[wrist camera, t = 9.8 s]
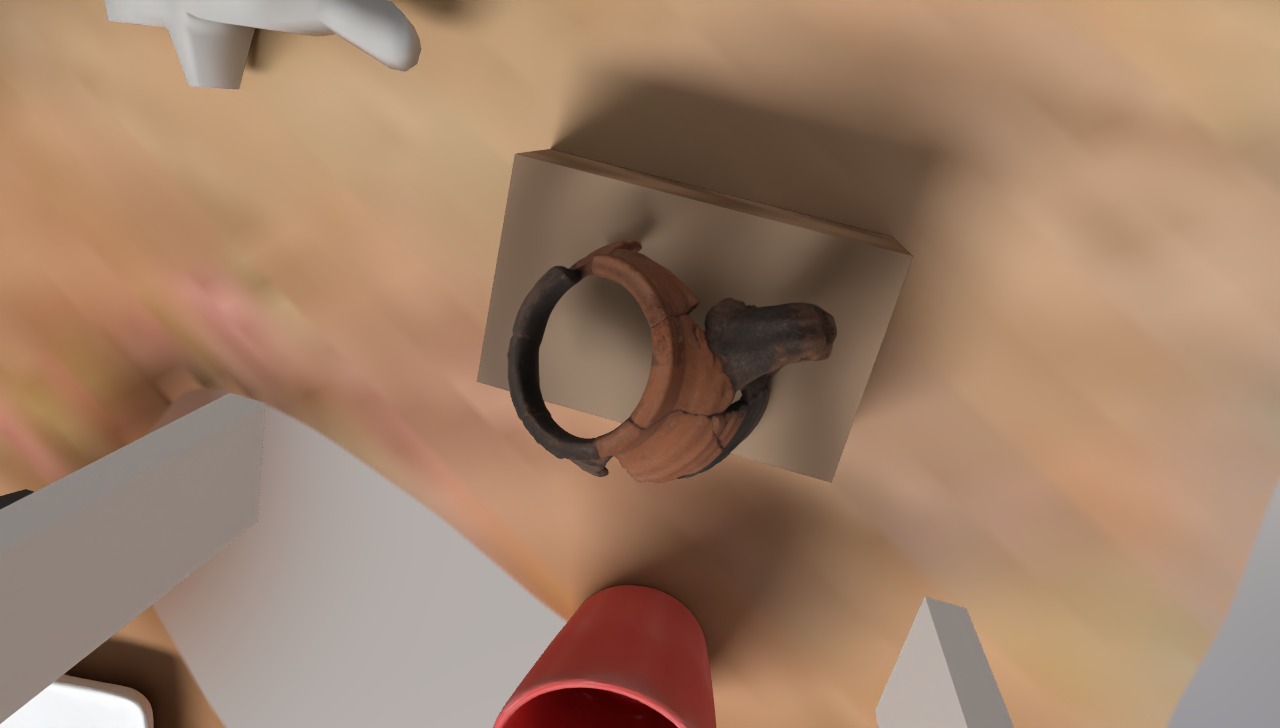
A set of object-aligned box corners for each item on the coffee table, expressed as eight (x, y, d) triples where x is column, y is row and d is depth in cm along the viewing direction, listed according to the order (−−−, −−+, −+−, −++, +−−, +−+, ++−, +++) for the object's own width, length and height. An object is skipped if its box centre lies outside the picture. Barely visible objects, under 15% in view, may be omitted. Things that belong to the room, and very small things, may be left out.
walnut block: (513, 349, 38) (476, 381, 33) (549, 149, 35) (515, 153, 30) (823, 436, 37) (831, 482, 32) (893, 236, 33) (912, 256, 29)
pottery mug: (638, 494, 34) (514, 517, 27) (594, 299, 36) (467, 275, 29) (898, 426, 28) (822, 433, 21) (828, 196, 30) (737, 134, 23)
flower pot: (535, 695, 45) (474, 843, 36) (557, 537, 41) (496, 656, 32) (711, 740, 44) (695, 905, 34) (750, 582, 40) (743, 719, 31)
